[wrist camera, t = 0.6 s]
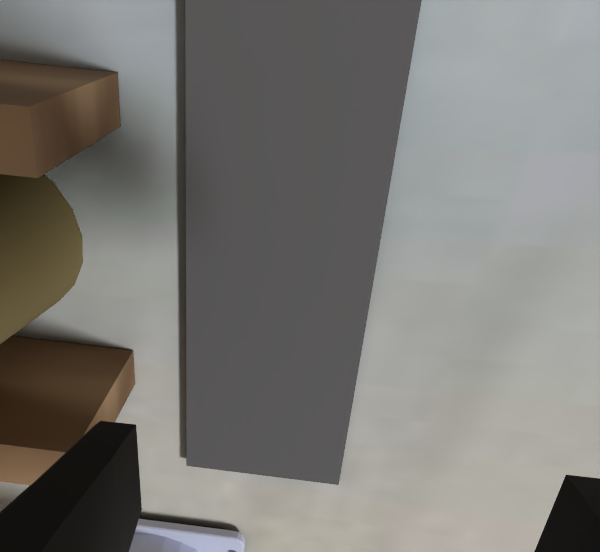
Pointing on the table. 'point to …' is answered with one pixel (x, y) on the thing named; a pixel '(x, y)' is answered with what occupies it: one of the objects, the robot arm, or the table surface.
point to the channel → (43, 353)
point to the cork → (34, 250)
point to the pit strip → (285, 220)
